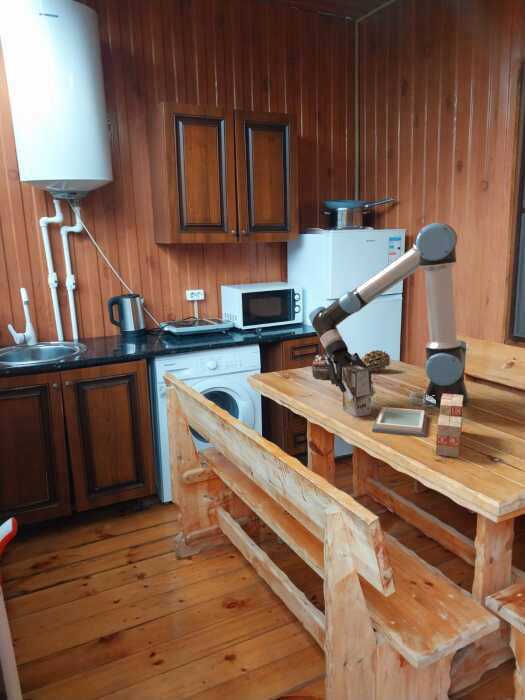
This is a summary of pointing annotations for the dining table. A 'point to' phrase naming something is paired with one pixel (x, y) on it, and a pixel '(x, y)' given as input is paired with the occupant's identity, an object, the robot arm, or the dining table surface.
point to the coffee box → (357, 390)
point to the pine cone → (376, 360)
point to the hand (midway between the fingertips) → (362, 396)
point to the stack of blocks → (449, 425)
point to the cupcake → (320, 368)
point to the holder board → (401, 421)
